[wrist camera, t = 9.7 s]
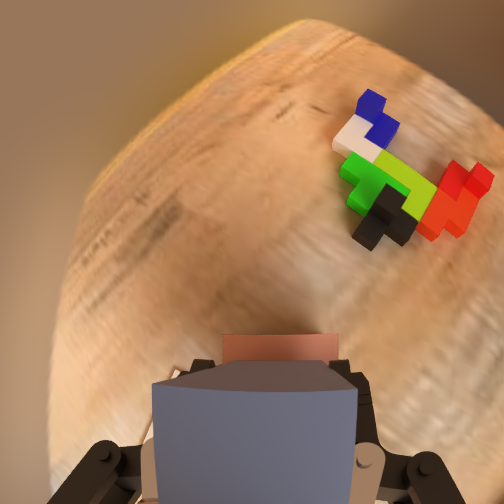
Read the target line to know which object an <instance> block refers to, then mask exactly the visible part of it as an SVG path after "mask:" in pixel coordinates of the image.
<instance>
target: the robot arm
mask: <svg viewBox="0 0 504 504" xmlns="http://www.w3.org/2000/svg"><path fill="white" fill-rule="evenodd" d="M213 367H215V363H214V361H213V360H202V359H194V361H193V363H192V366H191V369H190V372H188V371H181V372H180V374H179V375H178V376H177V377H180V376H184V375H187V374H191V373H194V372H198V371H201V370H205V369H210V368H213ZM329 368H330V369H333V370H334V371H336V372H337V373H338V374H339V375H341V376H342V377H343V378H344V379H346V380H347V381H348V382H349V383H351V384H352V385H353V386H354V387H356V388H357V389H358V399H357V421H356V438H355V451H354V462H353V473H352V482H351V490H350V498H349V504H374V503H375V500H382V501H388V503H389V504H466V503H465V501H464V499H463V497H462V495H461V494H460V492H459V490H458V488H457V486H456V484H455V482H454V481H453V479H452V477H451V475H450V473H449V471H448V470H447V468H446V466H445V464H444V463H443V461H442V459H441V458H440V457H439V456H438V455H437V454H436V453H433V452H429V451H425V452H420V453H418V454H416V455H414V456H413V457H411V456H404V455H397V454H392V453H390V452H388V451H386V450H385V449H384V448H383V447H382V446H381V444H380V443H379V440H378V436H377V429H376V422H375V416H374V409H373V405H372V397H371V392H370V386H369V382H368V380H367V379H366V377H365V376H364V375H363V373H362V372H355V373H351V371H350V364H349V360H348V359H347V360H330V361H329ZM141 494H142V499H141V501H139V502H138V503H137V504H159V501H158V492H157V481H156V469H155V456H154V439H153V437H152V438H150V439H148V440H147V441H146V442H145V443H144V444H142V445H138V446H127V447H118V445H117V444H115V443H114V442H112V441H109V440H102V441H99V442H97V443H95V444H94V445H93V446H92V447H91V448H90V450H89V451H88V452H87V453H86V455H85V456H84V457H83V458H82V460H81V461H80V462H79V464H78V465H77V466H76V467H75V469H74V470H73V471H72V472H71V474H70V475H69V476H68V477H67V479H66V480H65V481H64V483H63V484H62V485H61V486H60V488H59V489H58V490H57V491H56V493H55V494H54V495H53V496H52V498H51V499H50V500H49V502H48V503H47V504H135V503H136V501H137V500H138V498H139V497H140V495H141Z"/></svg>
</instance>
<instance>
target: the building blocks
mask: <svg viewBox="0 0 504 504" xmlns="http://www.w3.org/2000/svg"><path fill="white" fill-rule="evenodd" d="M386 100H387V99H386V98H384V97H383V96H381V95H379V94H377V93H375V92H373V91H372V90H370V89H367V90H366V91H365V92H364V94H363V95H362V96H361V97H360V98H359V99H358V103H357V108H356V112H355V114H354V115H353V116H352V117H351V119H350V120H349V121H348V122H347V123H346V124H345V126H344V127H343V128H342V129H341V130H340V131H339V133H338V134H337V135H336V136H335V137H334V139H333V143H332V150H334V151H335V152H337V153H339V154H340V155H342V156H343V157H345V158H347V160H346V161H345V162H344V164H343V165H342V166H341V169H340V173H339V176H340V177H341V178H343V179H345V180H346V181H348V182H349V183H351V184H352V185H354V186H355V188H354V190H353V191H352V192H351V194H350V195H349V196H348V199H347V202H346V205H347V206H349V207H350V208H352V209H353V210H354V211H356V212H357V213H359V214H360V215H362V216H363V217H364V219H363V221H362V222H361V224H360V225H359V227H358V228H357V229H356V231H355V233H354V235H353V236H352V238H353V239H354V240H356V241H357V242H359V243H360V244H361V245H363V246H364V247H365V248H367V249H368V250H370V251H372V250H373V249H374V248H375V246H376V245H377V244H378V242H379V241H380V239H381V237H382V236H383V234H385V235H387V236H388V237H389V238H391V239H392V240H394V241H395V242H396V243H398V244H399V245H400V246H403V245H404V244H405V243H406V242H407V241H408V240H409V239H410V237H411V235H412V233H413V232H414V230H417V231H418V232H419V233H421V234H422V235H423V236H424V237H426V238H427V239H428V240H430V241H431V242H432V241H433V240H435V239H436V238H437V237H438V236H439V235H440V233H441V231H442V229H443V227H444V228H445V229H446V230H448V231H449V232H450V233H451V234H452V235H454V236H455V237H456V238H458V237H460V236H461V235H462V234H464V233H465V232H466V230H467V227H468V225H469V223H470V221H471V218H472V216H473V214H474V211H475V209H476V207H477V204H478V202H479V199H480V198H481V197H482V196H484V195H485V194H486V193H487V192H488V191H489V190H490V187H491V184H492V181H493V178H494V175H493V174H492V173H491V172H490V171H489V170H488V169H486V168H485V167H484V166H483V165H482V164H480V163H479V162H477V164H476V165H475V166H474V167H473V168H472V169H471V171H470V172H468V171H467V170H466V169H464V168H463V167H462V166H460V165H459V164H458V163H457V162H455V161H454V160H452V161H451V162H450V164H449V165H448V167H447V168H446V170H445V172H444V174H443V176H442V178H441V180H440V181H439V183H438V185H437V187H436V186H435V185H433V184H432V183H431V182H429V181H428V180H427V179H425V178H424V177H423V176H421V175H420V174H419V173H417V172H416V171H415V170H413V169H412V168H410V167H409V166H408V165H406V164H405V163H403V162H402V161H400V160H399V159H397V158H396V157H395V156H393V155H392V154H390V153H389V152H387V151H386V150H385V149H386V147H387V146H388V144H389V143H390V141H391V140H392V138H393V137H394V135H395V134H396V132H397V130H398V127H399V125H400V123H399V122H398V121H396V120H395V119H393V118H391V117H390V116H388V115H386V114H385V113H383V109H384V106H385V103H386Z"/></svg>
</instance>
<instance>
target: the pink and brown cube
mask: <svg viewBox="0 0 504 504" xmlns="http://www.w3.org/2000/svg"><path fill="white" fill-rule="evenodd" d="M234 360H246V361H298V360H322V361H323V362H324V363H326V364H327V365H328V366H329V361H330V360H338V333H336V334H304V335H235V334H223V364H225V363H228V362H231V361H234Z"/></svg>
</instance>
